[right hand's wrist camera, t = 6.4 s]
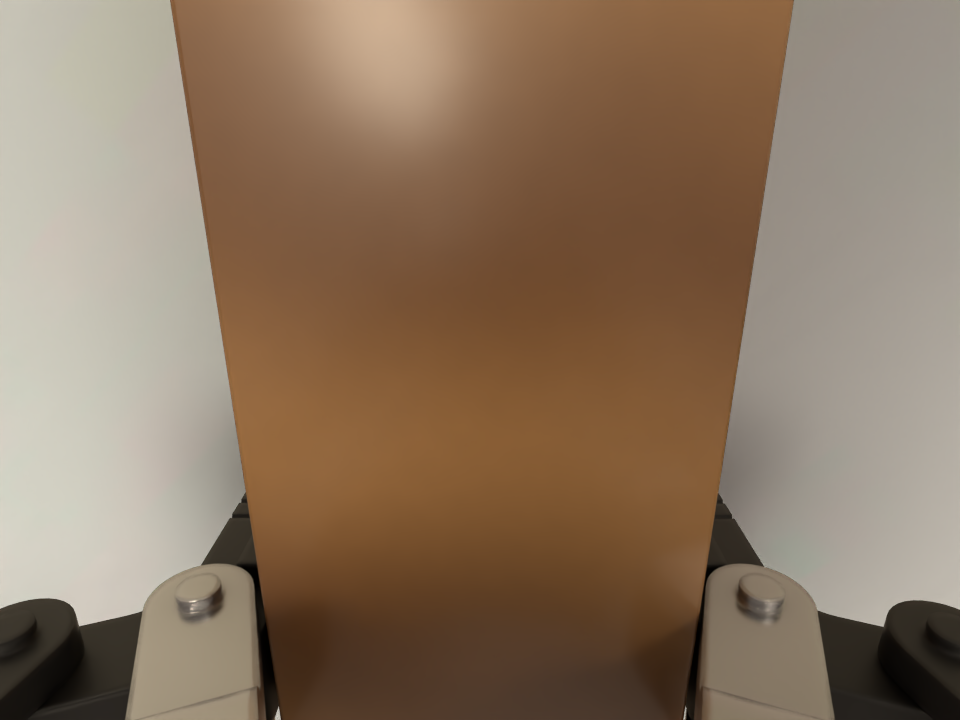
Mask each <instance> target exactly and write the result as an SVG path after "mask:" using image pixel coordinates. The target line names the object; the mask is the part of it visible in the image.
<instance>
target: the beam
mask: <svg viewBox="0 0 960 720" xmlns="http://www.w3.org/2000/svg"><path fill="white" fill-rule="evenodd" d="M170 2H171V9H172V15H173V22H174V28H175V35H176V41H177V48H178V54H179V61H180V67H181V74H182V80H183V87H184V93H185V100H186V106H187V113H188V119H189V126H190V132H191V139H192V145H193V152H194V158H195V165H196V171H197V178H198V184H199V191H200V197H201V203H202V210H203V216H204V223H205V229H206V236H207V242H208V249H209V255H210V262H211V268H212V275H213V281H214V288H215V294H216V301H217V307H218V314H219V320H220V327H221V333H222V340H223V346H224V353H225V359H226V366H227V372H228V379H229V385H230V392H231V398H232V405H233V411H234V418H235V424H236V431H237V437H238V444H239V450H240V457H241V463H242V470H243V476H244V482H245V489H246V495H247V502H248V508H249V515H250V521H251V528H252V534H253V541H254V547H255V554H256V560H257V567H258V573H259V580H260V586H261V593H262V599H263V606H264V612H265V619H266V625H267V632H268V638H269V645H270V651H271V658H272V664H273V671H274V677H275V684H276V690H277V697H278V703H279V710H280V716H281V720H683V717H684V711H685V704H686V698H687V691H688V685H689V678H690V672H691V665H692V659H693V652H694V646H695V639H696V633H697V626H698V620H699V613H700V607H701V600H702V594H703V587H704V581H705V574H706V568H707V561H708V555H709V548H710V542H711V535H712V529H713V522H714V516H715V509H716V503H717V496H718V490H719V483H720V477H721V470H722V464H723V457H724V451H725V444H726V438H727V431H728V425H729V418H730V412H731V405H732V399H733V392H734V386H735V379H736V373H737V366H738V360H739V353H740V347H741V340H742V334H743V327H744V321H745V314H746V308H747V301H748V295H749V288H750V282H751V275H752V269H753V262H754V256H755V249H756V243H757V236H758V230H759V223H760V217H761V210H762V204H763V197H764V191H765V184H766V178H767V171H768V165H769V158H770V152H771V145H772V139H773V132H774V126H775V119H776V113H777V106H778V100H779V93H780V87H781V80H782V74H783V67H784V61H785V54H786V48H787V41H788V35H789V28H790V22H791V15H792V9H793V2H794V0H170Z"/></svg>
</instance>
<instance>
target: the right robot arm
mask: <svg viewBox="0 0 960 720" xmlns="http://www.w3.org/2000/svg"><path fill="white" fill-rule="evenodd" d="M241 500H242V501H241V503H239V504H238V506H237V507H236V509H235V511H234V512H233V514H232V518H230V519H229V521H228V522H227V524H226V525H225V527H224V529H223V530H222V532H221V534H220V535H219V537H218V538H217V540H216V542H215V543H214V545H213V547H212V548H211V550H210V552H209V553H208V555H207V556H206V558H205V560H204V561H203V563H202V565H201V566H198V567H194V568H191V569H188V570H185V571H183V572H181V573H178V574H176V575H174V576H173V577H171V578H169V579H168V580H166V581H165V582H163V583H162V584H161V585H159V586H158V587H157V588H156V589H155V590H154V591H153V592H152V593H151V595H150V596H149V597H148V599H147V601H146V602H145V605H144V608H143V611H142V612H139V613H135V614H132V615H128V616H124V617H119V618H115V619H110V620H106V621H101V622H97V623H93V624H88V625H84V626H79V624H78V621H77V617H76V614H75V611H74V609H73V608H72V607H71V606H70V604H68V603H66V602H64V601H61V600H58V599H49V598H48V599H33V600H28V601H23V602H19V603H16V604H12V605H9V606H6V607H4V608H1V609H0V720H275V715H276V712H277V709H278V707H279V703H278V697H277V690H276V684H275V677H274V671H273V664H272V658H271V651H270V645H269V638H268V632H267V625H266V619H265V612H264V606H263V599H262V593H261V586H260V580H259V573H258V567H257V560H256V554H255V547H254V541H253V534H252V528H251V521H250V515H249V508H248V502H247V495H246V493H245V494H244V496H243V498H242V499H241ZM685 705H686V708H687V709H686V716H685V720H960V610H959V609H956V608H953V607H950V606H947V605H944V604H940V603H935V602H929V601H915V600H913V601H905V602H901V603H898V604H896V605H895V606H893V607H892V608H891V609H890V610H889V612H888V614H887V617H886V621H885V624H884V627H881V626H876V625H872V624H867V623H863V622H858V621H854V620H850V619H845V618H841V617H837V616H833V615H829V614H826V613H823V612H820V611H817V608H816V604H815V602H814V601H813V599H812V597H811V596H810V595H809V593H808V592H807V591H806V590H805V589H804V588H803V587H802V586H801V585H799V584H798V583H797V582H795V581H794V580H792V579H791V578H789V577H787V576H786V575H784V574H782V573H779V572H777V571H775V570H772V569H769V568H766V567H764V566H763V564H762V563H761V561H760V559H759V558H758V556H757V555H756V553H755V551H754V550H753V548H752V547H751V545H750V543H749V542H748V540H747V539H746V537H745V535H744V534H743V532H742V531H741V529H740V527H739V526H738V524H737V523H736V521H735V519H732V514H731V513H730V511H729V510H728V508H727V506H726V505H725V504H723V500H722V498H721V497H720V495H719V494H718V496H717V503H716V509H715V516H714V522H713V529H712V535H711V542H710V548H709V555H708V561H707V568H706V574H705V581H704V587H703V594H702V600H701V607H700V613H699V620H698V626H697V633H696V639H695V646H694V652H693V659H692V665H691V672H690V678H689V685H688V691H687V698H686V704H685Z"/></svg>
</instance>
